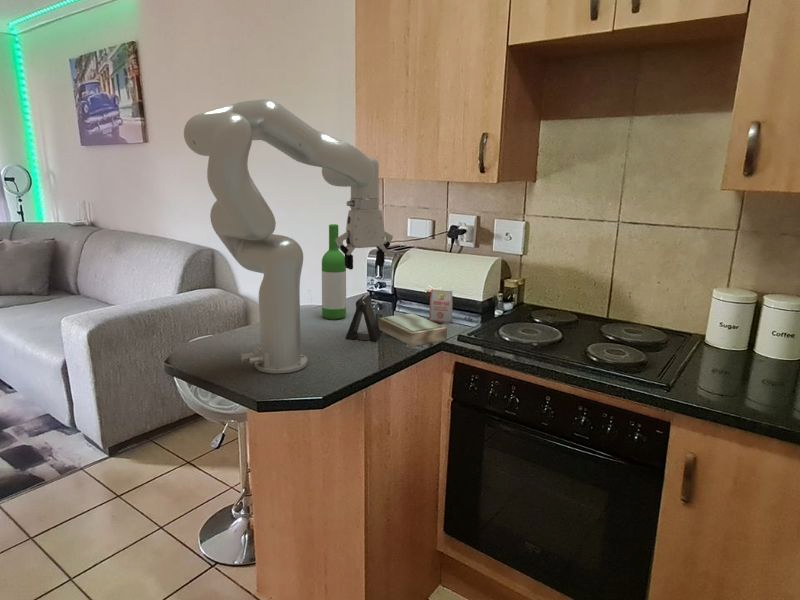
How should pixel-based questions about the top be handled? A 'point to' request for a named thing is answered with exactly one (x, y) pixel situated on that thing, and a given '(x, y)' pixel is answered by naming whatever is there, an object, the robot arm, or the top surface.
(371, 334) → the dark brown arched piece
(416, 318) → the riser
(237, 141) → the robot arm
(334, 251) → the wine bottle
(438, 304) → the small printed carton
